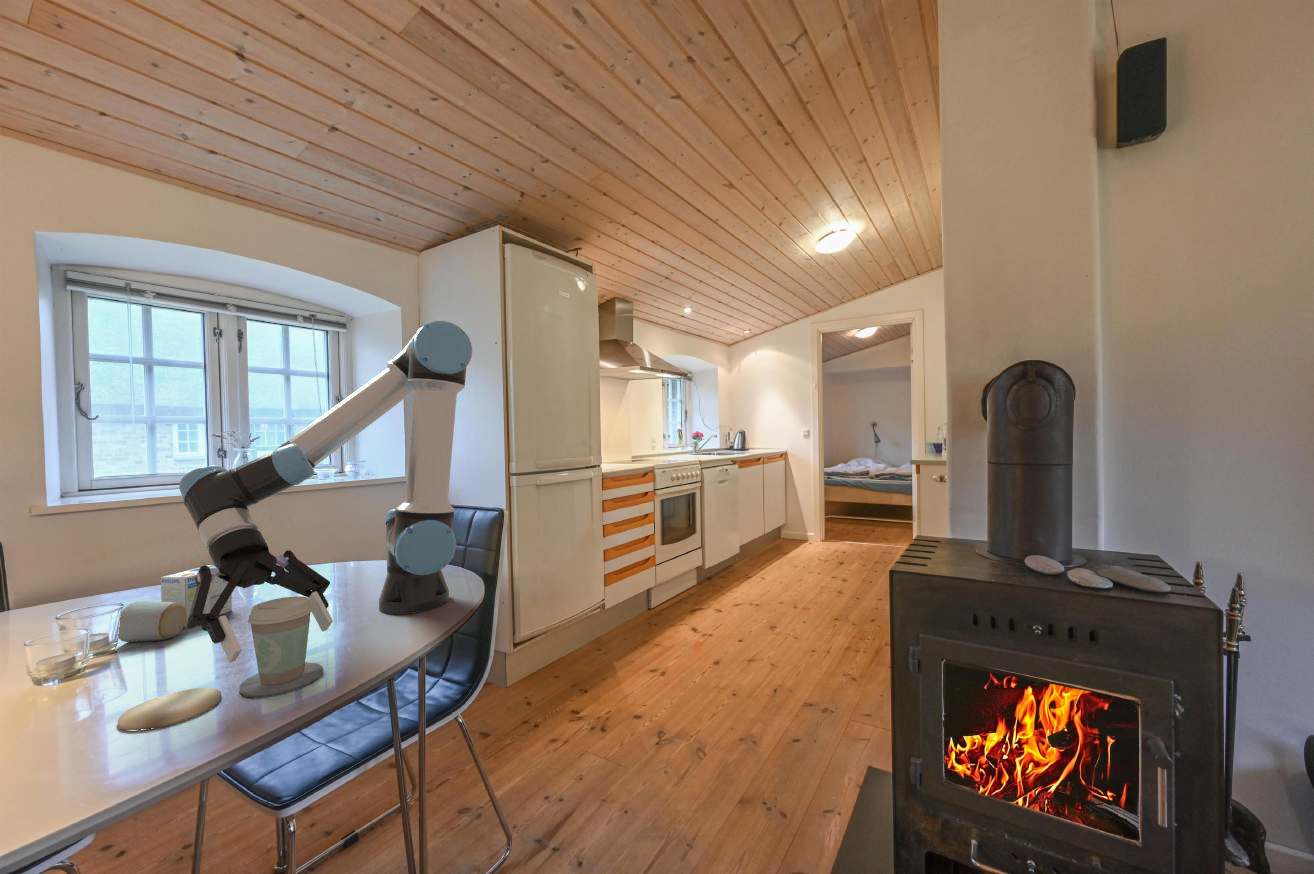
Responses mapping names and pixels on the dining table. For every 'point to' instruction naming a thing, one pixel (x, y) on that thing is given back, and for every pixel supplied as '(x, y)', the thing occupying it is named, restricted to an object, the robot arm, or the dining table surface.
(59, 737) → the dining table surface
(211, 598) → the light bulb box
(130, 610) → the ceramic mug
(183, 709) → the cork coaster
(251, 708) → the dining table surface
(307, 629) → the coffee cup
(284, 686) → the slate coaster
